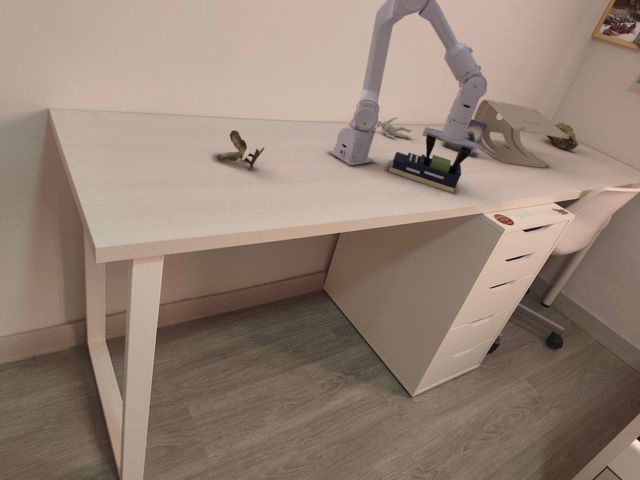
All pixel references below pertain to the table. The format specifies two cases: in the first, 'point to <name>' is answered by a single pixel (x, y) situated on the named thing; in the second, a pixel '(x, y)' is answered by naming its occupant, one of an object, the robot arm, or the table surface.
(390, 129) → the soldier figure
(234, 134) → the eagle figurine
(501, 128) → the laptop stand
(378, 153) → the table surface
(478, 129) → the small box
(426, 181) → the navy slotted organizer
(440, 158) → the green cube
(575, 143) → the mineral specimen
